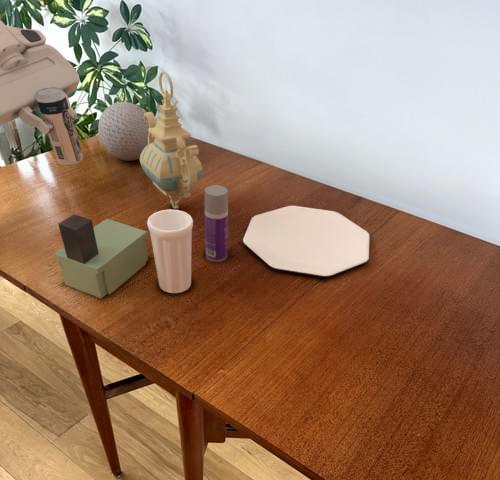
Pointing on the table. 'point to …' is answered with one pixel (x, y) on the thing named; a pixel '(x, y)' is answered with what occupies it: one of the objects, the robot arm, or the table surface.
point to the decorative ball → (124, 130)
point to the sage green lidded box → (107, 259)
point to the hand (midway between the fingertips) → (62, 125)
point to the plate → (307, 241)
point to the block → (78, 238)
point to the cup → (172, 248)
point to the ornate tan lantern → (170, 152)
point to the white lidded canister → (60, 125)
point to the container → (216, 222)
